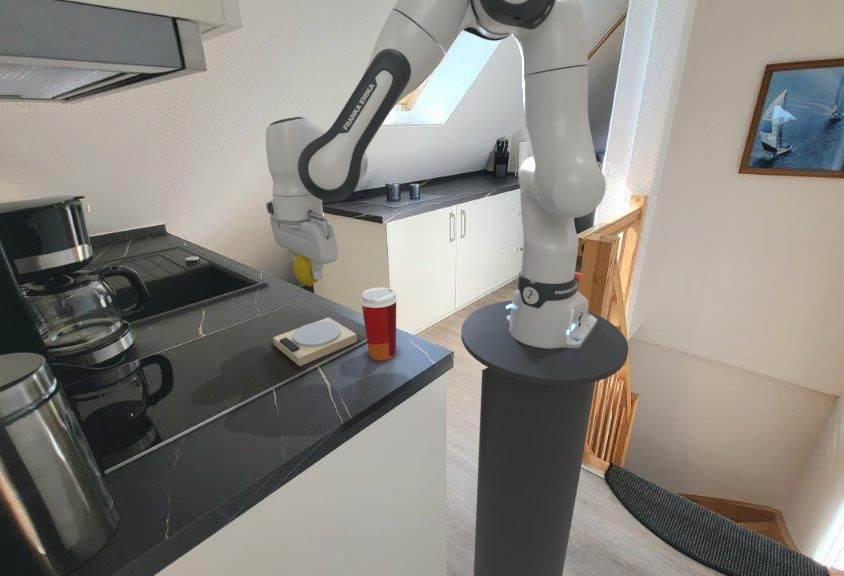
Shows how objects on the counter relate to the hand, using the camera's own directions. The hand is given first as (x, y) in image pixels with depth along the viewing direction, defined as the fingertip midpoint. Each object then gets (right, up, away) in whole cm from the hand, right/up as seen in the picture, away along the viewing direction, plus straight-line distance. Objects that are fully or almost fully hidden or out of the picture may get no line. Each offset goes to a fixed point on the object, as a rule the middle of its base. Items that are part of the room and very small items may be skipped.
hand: (308, 274), depth 84 cm
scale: (0, -15, +7) cm, 17 cm away
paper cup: (+15, -17, +2) cm, 23 cm away
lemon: (0, -3, +1) cm, 3 cm away
